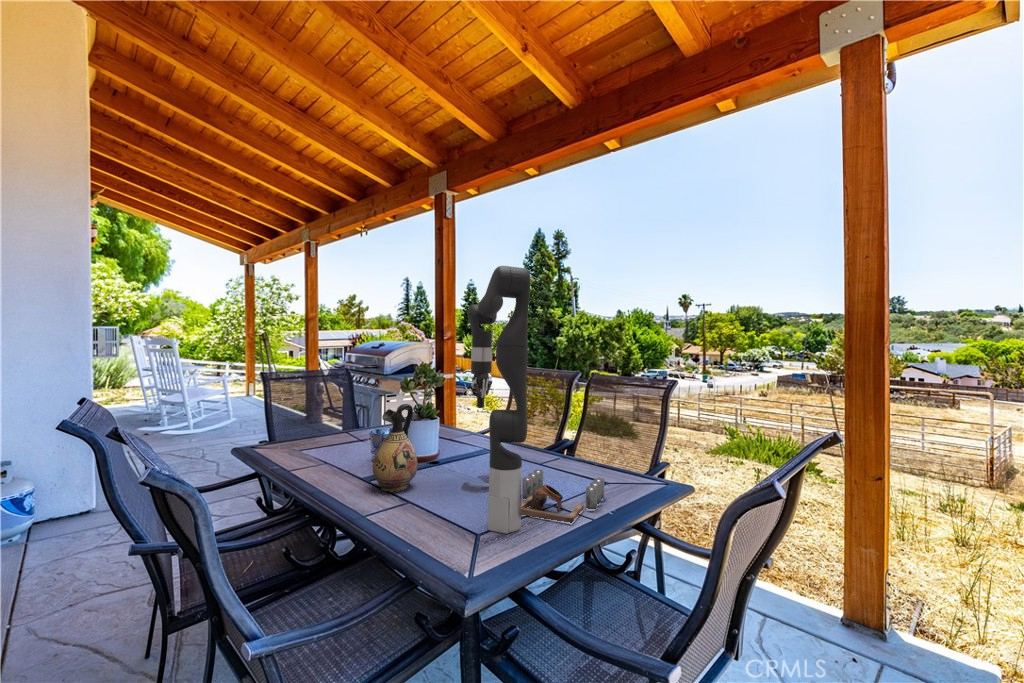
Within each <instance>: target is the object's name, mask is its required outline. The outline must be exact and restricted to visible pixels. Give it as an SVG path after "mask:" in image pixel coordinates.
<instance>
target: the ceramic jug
mask: <svg viewBox="0 0 1024 683" xmlns="http://www.w3.org/2000/svg"><path fill="white" fill-rule="evenodd" d="M403 411H407V414H406V418H405V416H404V414H403ZM413 416H414V408H413V406H412V405H411V404H408V403H402V404H400V405H399V406H398V407H397V409H396V410H392V409H390V408H388V409H387V410H386V411H385V412H383V415H382V420H383V421H386V422H387V423H390V424H392V428H391V430H390V431H389V433H388V434H387V435H386V437H385V438H384V440H383V441H382V443H381V445H380V446H379V448H378V449H377V451H376V454H375V457H374V459H373V464H372V473H373V476H374V478H375V480H376V482H377V483H378V485H379V486H380V490H381V491H382V490H383V491H382V492H386V491H390V492H389V493H395V492H394V491H398V492H401V491H400V490H402V491H405V490H406V489H407V488H408V486H409V484H410V482H412V481H413V479H414V478H415V476H416V475H417V472H418V456H417V453H416V449H415V448H414V446H413V444H412V442H411V441H410V439H409V436H408V435H409V429H410V426H411V422H412V420H413ZM403 423H404V425H403ZM404 489H405V490H404Z"/></svg>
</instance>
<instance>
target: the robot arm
mask: <svg viewBox="0 0 1024 683" xmlns="http://www.w3.org/2000/svg"><path fill="white" fill-rule="evenodd" d="M531 282H532V281H531V273H530V271H529V270H528V268H524V267H519V266H510V265H499V266H497V267H496V268H495V269H494V270H493V273H492V274H491V277H490V279H489V282H488V284H487V288H486V292H485V294H484V295H483V297H482V298H481V300H480V301H479V302H478V304H472V305H469V307H468V309H467V319H468V322H469V326H470V331H471V338H472V340H471V351H470V352H471V354H470V355H471V356H470V373H472V374H473V378H472V379H473V381H472V382H469V388H470V390H471V392H472V395H473V396H474V397H476V399H477V400H476V408H478V409H483V408H485V398H486V396H488V395H489V392H490V390H491V387H492V384H493V381H492V380H490V377H489V375H490V374H491V373H492V370H493V364H492V363H493V353H492V352H493V351H492V338H493V336H492V332H490V331H488V330H484V329H482V328H480V326H479V325H493V324H495V322H496V321H497V319H498V318H497V317H498V313H499V311H500V310H501V309H502V308H503V305H504V298H508V299H515V306H514V310H513V313H512V315H511V317H510V318H509V320H508V322H507V323H506V325H505V326H504V327H503V328H502V331H501V332H500V334H499V336H498V337H497V340H496V344H495V348H496V349H495V364H496V367H497V370H498V372H499V373H500V375H501V376H502V378H503V380H504V381H505V383H506V385H507V386H508V388H509V390H510V393H511V394H512V396H513V399H514V401H515V405H516V406H515V407H516V409H494V410H492V411H491V413H490V415H489V422H488V424H489V426H488V427H489V430H488V431H489V432H488V433H489V467H488V468H489V471H488V472H489V477H488V480H489V482H488V483H489V484H488V497H487V498H488V499H487V503H488V504H487V505H488V506H487V507H488V508H487V530H488V531H490V532H491V531H492V532H496V533H501V534H506V535H508V534H509V533H513V532H514V533H515V532H516V531H518V530H520V529H521V525H522V524H521V520H522V519H521V518H522V516H521V503H522V470H523V468H522V467H523V462H522V460H523V459H522V456H521V455H520V454H518V453H517V452H514V451H511V450H509V449H507V448H506V447H504V446H503V445H502V443H508V444H509V443H517V444H518V443H519V444H521V443H522V444H523V443H524V442H525V441H526V440H527V437H528V402H527V401H528V399H527V397H528V396H527V376H528V359H529V358H528V356H529V355H528V352H529V351H528V350H529V349H528V348H529V346H528V345H529V343H528V341H529V340H528V326H529V325H528V324H529V323H528V320H529V318H528V317H529V309H530V308H529V307H530V306H529V304H530V296H531V295H530V294H531Z"/></svg>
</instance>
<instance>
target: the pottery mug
mask: <svg viewBox="0 0 1024 683" xmlns="http://www.w3.org/2000/svg"><path fill="white" fill-rule="evenodd" d="M563 498H564V497H563V495H562V494H561V493H560V492H559V491H558V489H555V488H554V487H552V486H551V485H548V484H543V487H542V488H539V489H537V491H535V493H534V495H533V497H532V500H531V504H530V507H529V509H534V510H540V511H543V508H544V506H545V504H546V502H547V501H548V499H551V501H555V503H557V504H558V505H557V508H556V510H559V509H560V510H561V507H562V503H563V502H562V500H563ZM560 510H559V511H560Z"/></svg>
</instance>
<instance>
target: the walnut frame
mask: <svg viewBox="0 0 1024 683" xmlns="http://www.w3.org/2000/svg"><path fill="white" fill-rule="evenodd" d="M532 497H533V496H530V497H528V498H527V499H526V500H523V501H521V515H526V516H532V517H539V518H544V519H551V520H557V521H564V522H570V523H572V522H573V521H574V519H575V518H576V517H577V516H578V514H579V513H580V512H581V511H582V510H583V508H584V506H585V505H584V504H582V503H578V504H577V506H576V507H575V508H574V509H573V510H572V511H571V512H570V513H569V514H568V515H566V514H561V513H560V514H559V513H555V512H549V511H544V510H537V509H535V510H534V509H531V508H530V507H529V506H530V504H531V500H532ZM527 507H529V508H527ZM583 511H584V510H583Z"/></svg>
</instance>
